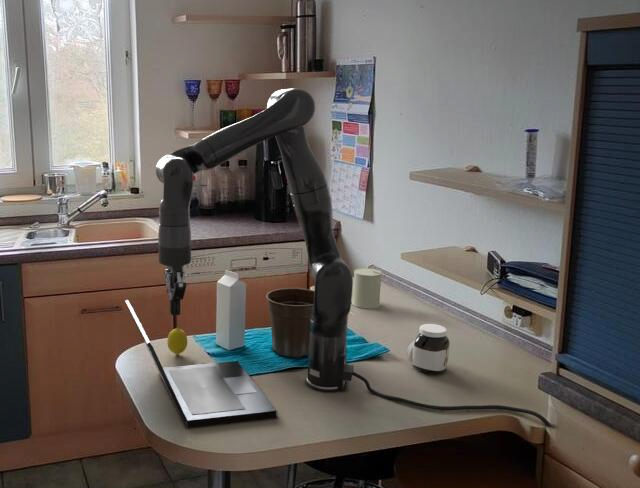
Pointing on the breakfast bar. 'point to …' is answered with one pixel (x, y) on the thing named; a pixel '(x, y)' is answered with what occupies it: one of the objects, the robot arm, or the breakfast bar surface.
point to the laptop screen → (156, 362)
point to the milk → (230, 311)
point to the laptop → (218, 394)
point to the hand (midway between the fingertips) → (175, 314)
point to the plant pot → (290, 320)
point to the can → (366, 288)
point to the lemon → (177, 341)
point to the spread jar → (430, 349)
